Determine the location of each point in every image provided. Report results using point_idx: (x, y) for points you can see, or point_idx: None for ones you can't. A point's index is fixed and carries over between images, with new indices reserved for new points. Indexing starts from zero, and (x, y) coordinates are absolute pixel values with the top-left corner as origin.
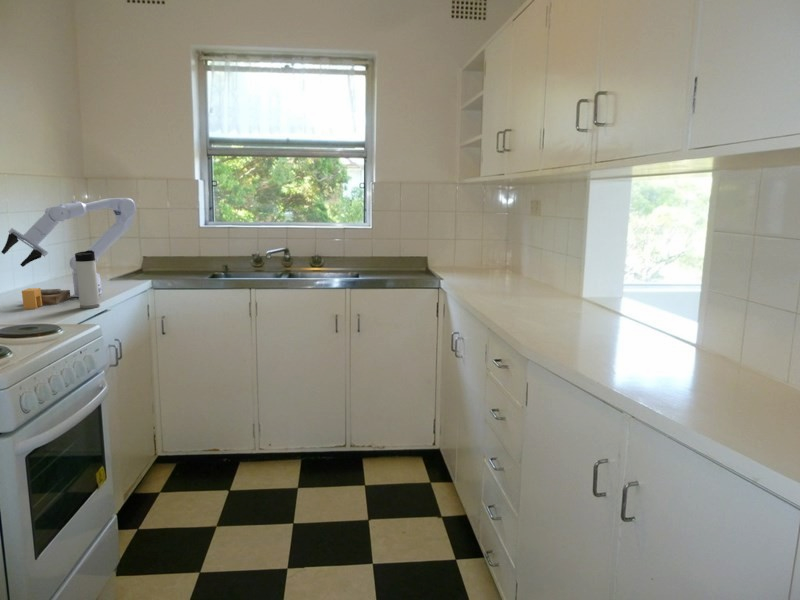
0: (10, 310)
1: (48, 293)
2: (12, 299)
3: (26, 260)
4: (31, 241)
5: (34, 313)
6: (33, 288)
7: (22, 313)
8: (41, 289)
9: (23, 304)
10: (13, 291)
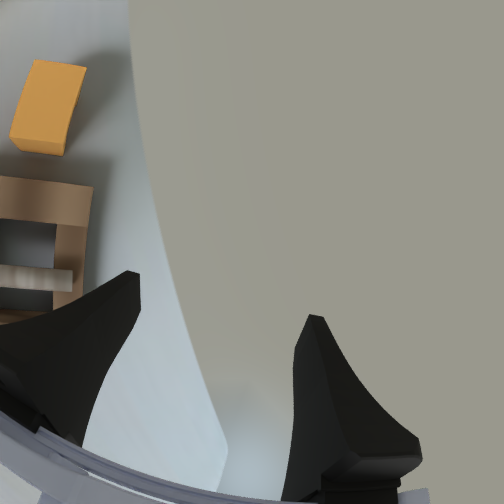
0: (122, 87)
1: None
2: (172, 342)
3: (95, 294)
4: (71, 490)
5: (48, 6)
6: (38, 135)
7: (82, 17)
8: (37, 280)
9: (80, 90)
10: (215, 455)
